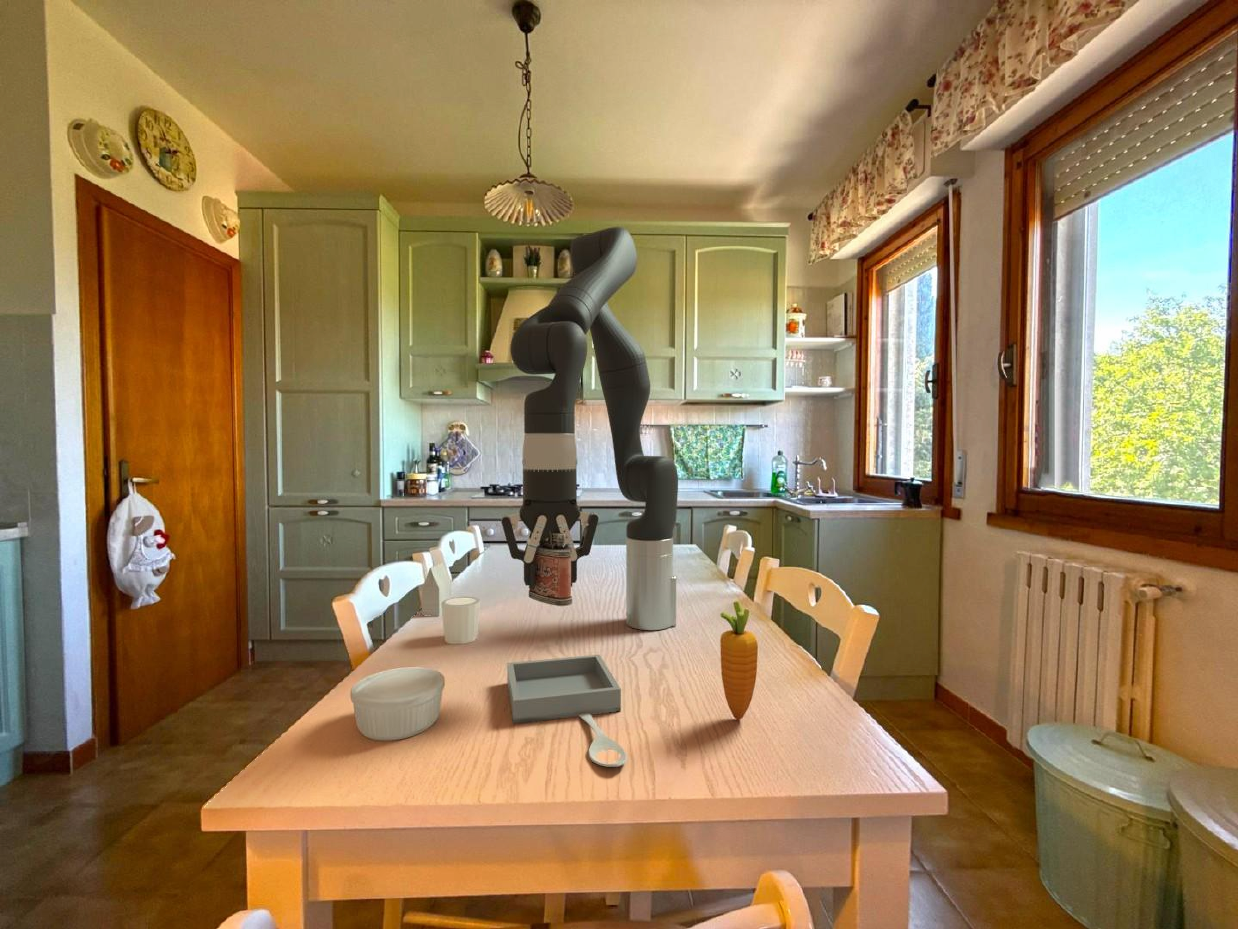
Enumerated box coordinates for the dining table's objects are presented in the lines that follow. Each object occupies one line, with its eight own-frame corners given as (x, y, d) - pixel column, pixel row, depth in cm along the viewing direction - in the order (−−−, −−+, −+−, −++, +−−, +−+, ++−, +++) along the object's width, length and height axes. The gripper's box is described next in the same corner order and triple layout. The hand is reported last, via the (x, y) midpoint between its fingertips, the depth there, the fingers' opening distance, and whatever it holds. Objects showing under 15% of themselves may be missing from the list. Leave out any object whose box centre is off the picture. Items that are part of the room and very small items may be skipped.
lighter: (577, 603, 79) (578, 531, 79) (558, 607, 76) (559, 533, 76) (542, 592, 84) (542, 525, 84) (523, 596, 82) (523, 527, 82)
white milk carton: (451, 607, 125) (451, 562, 124) (439, 616, 118) (439, 568, 118) (435, 607, 125) (434, 561, 125) (422, 616, 118) (421, 568, 118)
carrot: (750, 733, 70) (751, 611, 69) (712, 723, 72) (713, 605, 72) (763, 717, 74) (764, 602, 73) (726, 707, 76) (727, 597, 76)
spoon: (598, 782, 60) (598, 767, 60) (558, 700, 80) (558, 688, 80) (635, 775, 61) (635, 760, 61) (587, 696, 81) (587, 684, 81)
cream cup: (485, 633, 107) (485, 596, 107) (472, 646, 100) (472, 606, 100) (450, 632, 108) (450, 595, 108) (435, 644, 101) (434, 605, 101)
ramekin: (376, 703, 78) (375, 665, 78) (456, 704, 78) (456, 666, 78) (332, 746, 67) (331, 701, 67) (426, 747, 66) (426, 703, 66)
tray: (599, 673, 88) (599, 654, 88) (620, 711, 75) (620, 689, 75) (507, 683, 84) (507, 663, 84) (513, 724, 72) (513, 700, 72)
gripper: (595, 465, 85) (595, 578, 86) (497, 465, 82) (497, 583, 82) (605, 466, 78) (605, 590, 78) (498, 467, 75) (498, 597, 75)
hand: (550, 586), depth 80 cm, fingers closed on lighter, 4 cm apart
